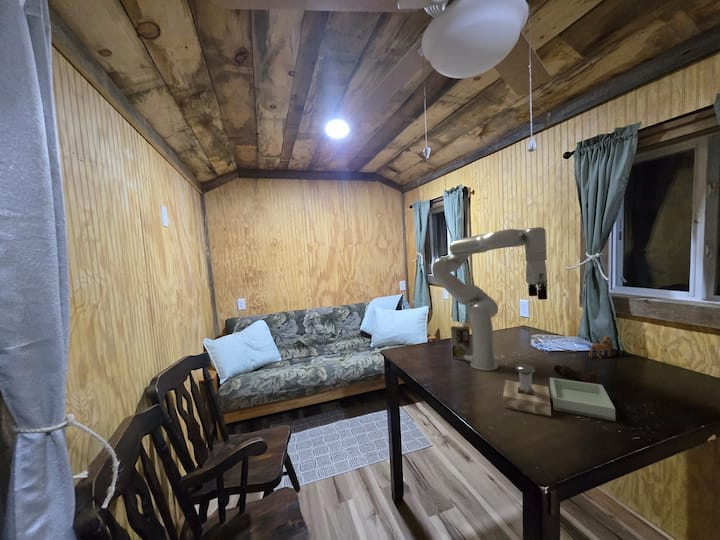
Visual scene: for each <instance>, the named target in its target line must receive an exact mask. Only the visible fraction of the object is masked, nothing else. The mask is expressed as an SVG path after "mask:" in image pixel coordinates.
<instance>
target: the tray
mask: <svg viewBox="0 0 720 540" xmlns="http://www.w3.org/2000/svg"><path fill="white" fill-rule="evenodd" d="M549 390H550V394H551V400H552V408H553V410H554V411H559V412H563V413H568V414H569V413H570V414H575V415H580V416H586V417H590V418H591V417H592V418H594V419H600V420H607V421H613V422H616V407H615V406H614V404H613V402H612V401H611V399H610V397H609V395H608V393H607V391H606V389H605V387H604V386H603V384H601V383H600V384H599V383H596V384H593V383H585V382H584V381H577V380H569V379H563V378H555V377H549Z"/></svg>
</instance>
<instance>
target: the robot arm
mask: <svg viewBox="0 0 720 540" xmlns="http://www.w3.org/2000/svg"><path fill="white" fill-rule="evenodd" d="M546 234H547V233H546V228H544V227H542V226H541V227H540V226H537V227H530V228H529V227H528V228H526V229H513V228H509V229H503V230H498V231H493V232H489V233H482V234H478V235H472V236H467V237H462V238H457V239H454V240H452V241H451V242H450V244H449V252H450V255H449V256H440V257H438V258H436V259H435V260H434V262H433V263H432V270H431V272H432V275H433V278H434V279H435V280H436V282H438V284H439V285H441V287H443V289H445V290H446V292H448V293H449V294H450V295H451V296H452V297H453V298H454V299H455V300H456V301H457V302H458V304H461V305H463V306H467V305H471V306H470V308H469V312H468V315H469V321H470V328H471V344H472V345H471V346H472V354H470V355H471V356H468V355H464V359H463V360H465V361H469V366H470V367H471V368H472V369H474V370H478V371H483V372H484V371H485V372H492V371H495V370H497V369H498V368H499V364H498V363H497V362H496V361H495V351H494V350H495V346H494V329H493V323H492V318H493V317H495V316H497V314H498V312H499V306H498V304H497V303H496V301H495V300H494V299H493V298H491V296H489V295H488V294H487V293H486V292H485V291H484V290H482V288H480V287H479V286H477V285H474V284H473V283H472V284H466V283H464V282H463V281H462V280H461V279H460V278H458V277H457V276H456V275H454V274H452V272H456V271H458V270H459V269H460V268H461V267H462V266H463V264H464V263H465V262H466V261H467V259H468V258H469V257H470V256H471V255H474V254H481V253H487V252H488V251H492V250H499V249H504V248H505V249H506V248H515V247H522V246H524V250H525V251H524V252H525V253H524V255H525V262H526V264H525V281H526V283H527V284H528V285H527V287H528V296H529V297H537V299H538V300H547V299H548V273H547V264H546V261H547V258H548V257H547V235H546Z"/></svg>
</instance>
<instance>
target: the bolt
mask: <svg viewBox="0 0 720 540" xmlns="http://www.w3.org/2000/svg"><path fill="white" fill-rule="evenodd" d="M553 371H554V372H555V373H558V374H560V375H561V376H562V377H563V378H569V377H570V378H573V379H576V380H579V381H580V382H585V383H593V384H598V383H597V382H598V376H597V375H596V374H595V373H594V372H593V371H590V372H581V371H578V370H575V369H572V368H571V367H570V366H569V365H559V364H556V365H554V366H553Z"/></svg>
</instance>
